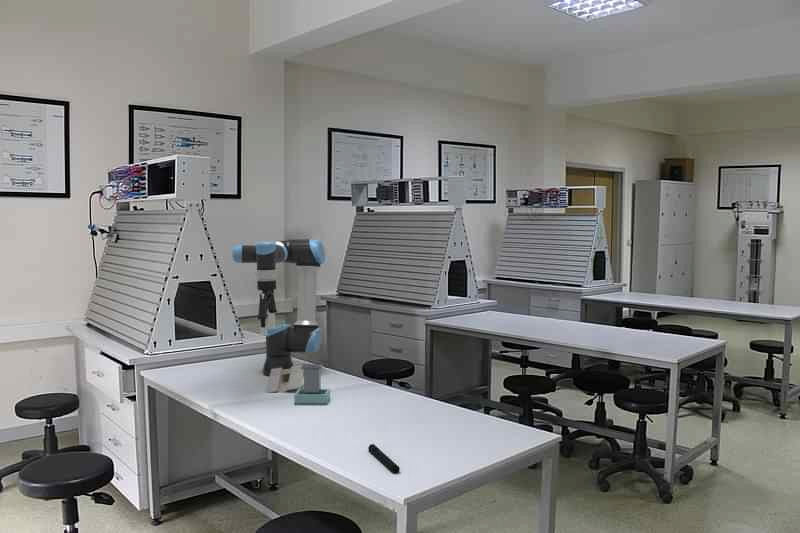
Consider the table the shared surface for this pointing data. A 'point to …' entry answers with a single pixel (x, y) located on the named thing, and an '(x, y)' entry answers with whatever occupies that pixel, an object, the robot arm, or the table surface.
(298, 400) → the tray
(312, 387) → the brushed metal pillar
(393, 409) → the table surface
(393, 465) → the gadget
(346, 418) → the table surface
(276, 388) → the wall
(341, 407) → the table surface
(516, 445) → the table surface
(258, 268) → the robot arm
